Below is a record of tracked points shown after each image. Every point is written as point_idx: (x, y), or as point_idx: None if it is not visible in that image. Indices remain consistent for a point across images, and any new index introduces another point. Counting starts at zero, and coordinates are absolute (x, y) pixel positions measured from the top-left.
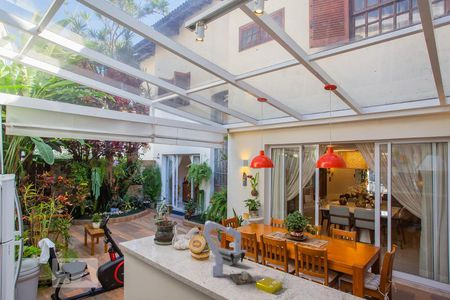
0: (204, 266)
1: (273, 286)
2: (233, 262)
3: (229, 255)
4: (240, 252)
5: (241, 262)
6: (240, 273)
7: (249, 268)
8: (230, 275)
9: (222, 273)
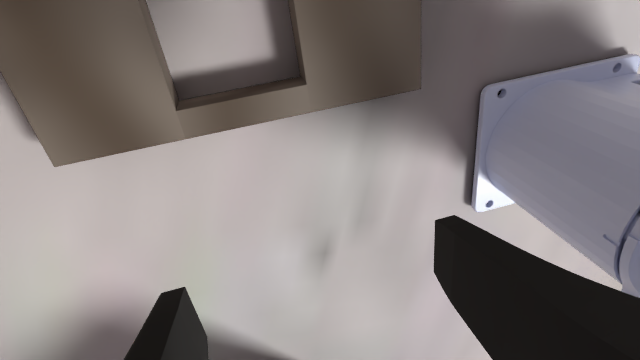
0: None
1: None
2: (453, 228)
3: None
4: None
5: (188, 295)
6: (221, 111)
7: (57, 354)
8: (419, 36)
9: (515, 118)
